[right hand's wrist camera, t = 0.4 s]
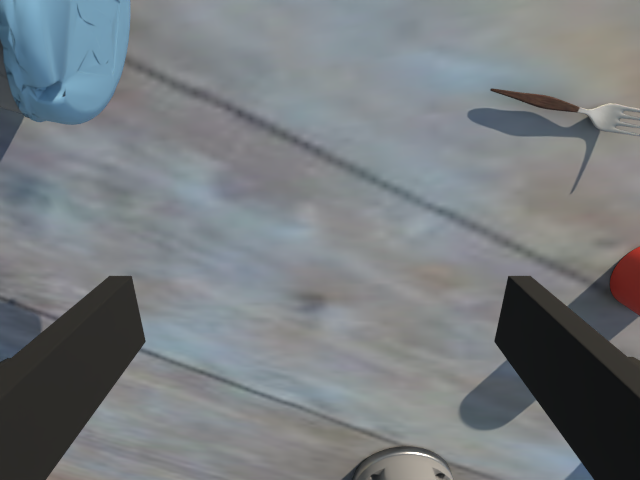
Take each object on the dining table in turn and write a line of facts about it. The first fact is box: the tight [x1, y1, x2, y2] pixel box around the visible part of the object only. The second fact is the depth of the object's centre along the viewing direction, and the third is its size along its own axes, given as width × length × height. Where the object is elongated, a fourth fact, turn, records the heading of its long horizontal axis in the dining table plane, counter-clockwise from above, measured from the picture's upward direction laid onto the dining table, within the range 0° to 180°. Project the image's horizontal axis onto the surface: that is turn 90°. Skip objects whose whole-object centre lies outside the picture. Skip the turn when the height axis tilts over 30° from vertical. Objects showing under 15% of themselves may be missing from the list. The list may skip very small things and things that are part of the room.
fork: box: [491, 89, 640, 136], centre depth 35 cm, size 3×16×2 cm, turn 78°
